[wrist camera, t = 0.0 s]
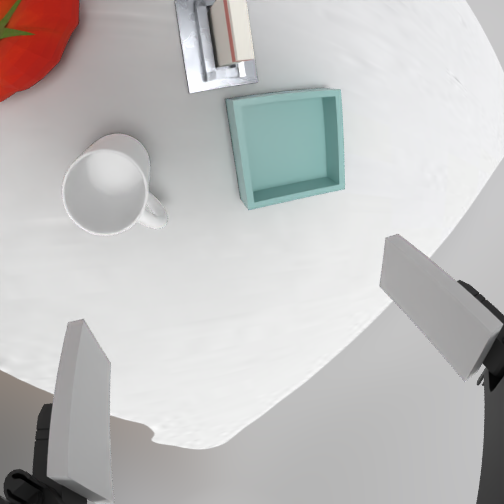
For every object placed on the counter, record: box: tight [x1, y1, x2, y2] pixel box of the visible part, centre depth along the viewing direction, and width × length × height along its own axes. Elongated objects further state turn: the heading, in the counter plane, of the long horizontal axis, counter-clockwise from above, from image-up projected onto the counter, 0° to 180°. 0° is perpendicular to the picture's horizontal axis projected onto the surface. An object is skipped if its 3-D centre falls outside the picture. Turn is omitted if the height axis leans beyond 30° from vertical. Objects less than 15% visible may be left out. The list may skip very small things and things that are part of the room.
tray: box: [225, 88, 345, 210], centre depth 37 cm, size 13×13×4 cm
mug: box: [62, 134, 168, 236], centre depth 31 cm, size 12×8×10 cm
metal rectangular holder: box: [175, 0, 258, 93], centre depth 28 cm, size 12×8×3 cm, turn 7°
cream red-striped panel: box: [207, 0, 255, 68], centre depth 25 cm, size 7×1×11 cm, turn 7°
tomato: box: [0, 0, 79, 102], centre depth 18 cm, size 14×16×10 cm
